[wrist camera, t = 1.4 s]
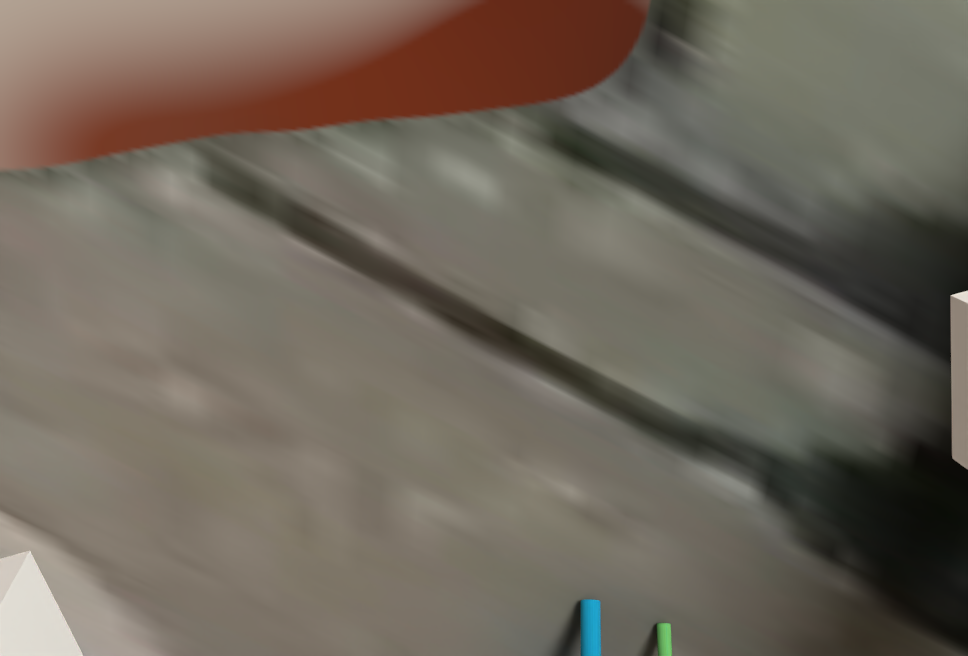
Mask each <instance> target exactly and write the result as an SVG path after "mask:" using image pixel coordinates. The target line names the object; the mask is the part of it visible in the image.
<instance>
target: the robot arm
mask: <svg viewBox="0 0 968 656" xmlns="http://www.w3.org/2000/svg"><path fill="white" fill-rule="evenodd" d="M950 296H951V398H952V459H954V460H955V461H957V462H958V463H959V464H961V465H962V466H963V467H965V468H966V469H968V291H964V292H961V293H957V294H953V295H950ZM0 656H83V654H82V652H81V650H80V648H79V646H78V644H77V642H76V640H75V638H74V636H73V634H72V632H71V630H70V628H69V627H68V625H67V623H66V621H65V619H64V617H63V615H62V613H61V611H60V609H59V607H58V605H57V603H56V601H55V599H54V597H53V595H52V593H51V591H50V589H49V587H48V585H47V583H46V581H45V579H44V577H43V575H42V574H41V572H40V570H39V568H38V566H37V564H36V562H35V560H34V558H33V556H32V554H31V552H30V551H27V552H23V553H20V554H16V555H12V556H9V557H5V558H2V559H0Z"/></svg>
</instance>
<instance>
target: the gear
mask: <svg viewBox="0 0 968 656" xmlns="http://www.w3.org/2000/svg"><path fill="white" fill-rule="evenodd" d="M657 643H658V656H672V644H671V624H668V623H658V624H657ZM581 656H601V622H600V601H598V600H581Z"/></svg>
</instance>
